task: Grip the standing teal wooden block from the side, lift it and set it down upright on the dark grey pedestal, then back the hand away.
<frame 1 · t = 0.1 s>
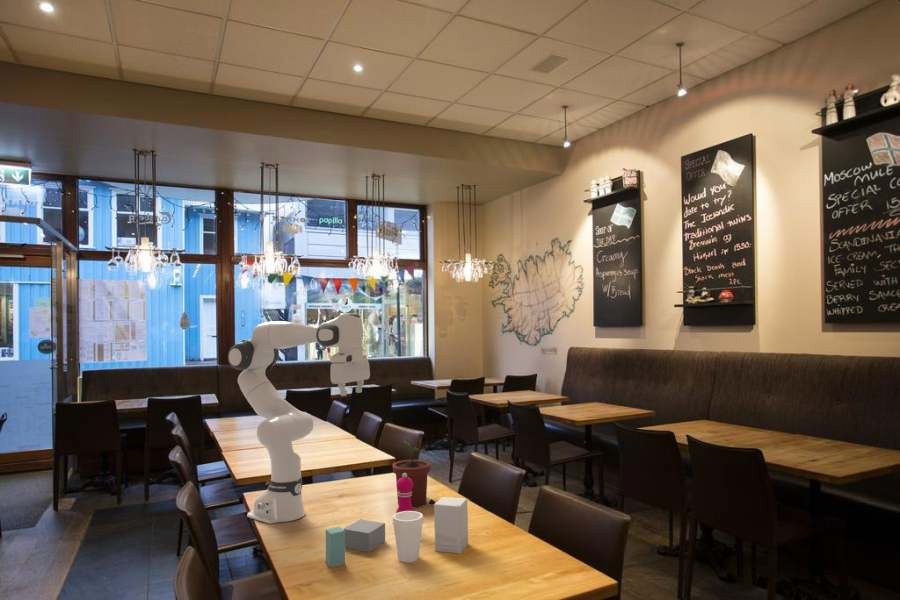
hand: (351, 394, 205), 48 cm above the table, tool pointing down, fingers open, 8 cm apart
foam cup: (408, 558, 175), on the table
potted plant: (415, 502, 232), on the table
block: (335, 563, 172), on the table
pedestal: (364, 544, 187), on the table
supplement box: (451, 548, 183), on the table
pepper mill: (405, 530, 200), on the table
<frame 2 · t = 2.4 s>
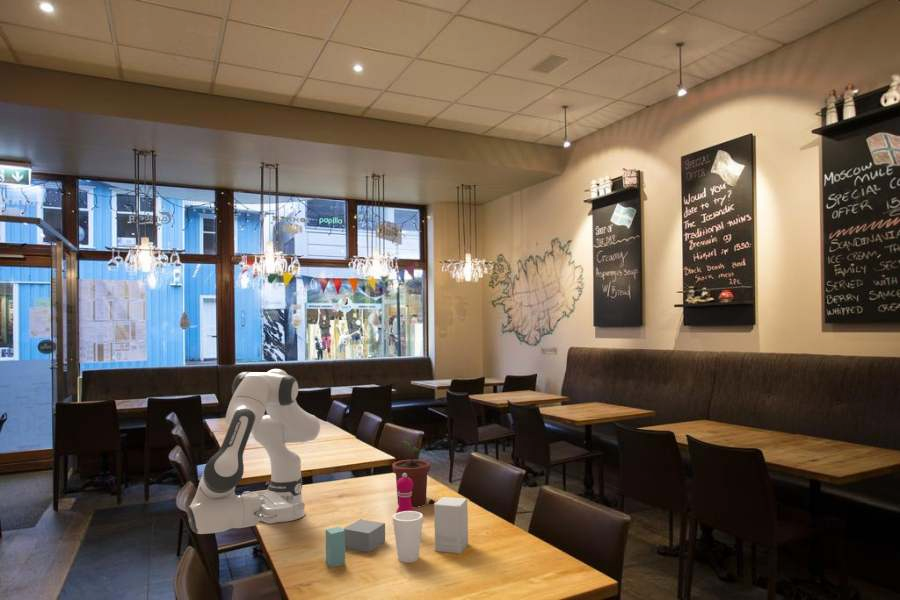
hand: (298, 501, 167), 21 cm above the table, tool horizontal, fingers open, 8 cm apart
nothing on the table moved.
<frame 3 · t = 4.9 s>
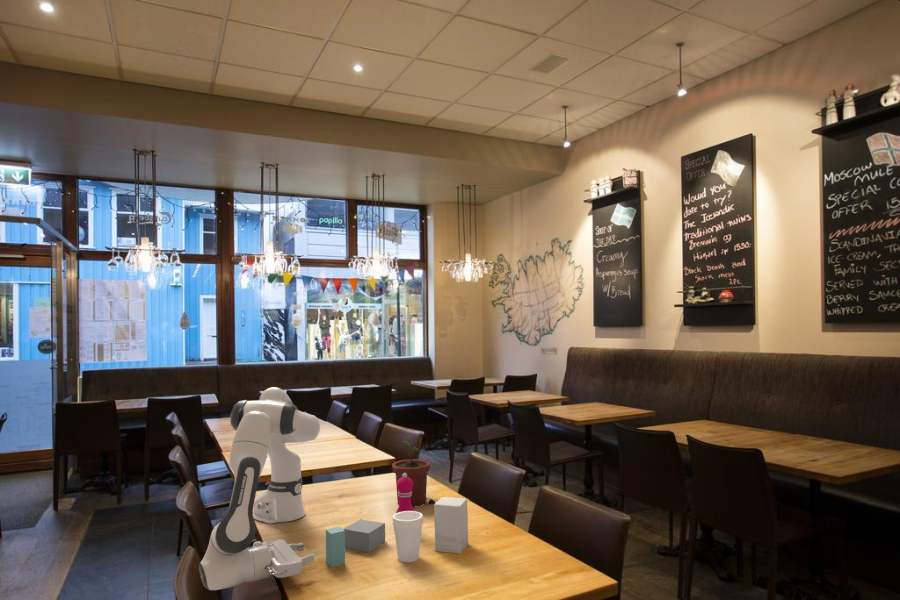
hand: (308, 551, 168), 5 cm above the table, tool horizontal, fingers open, 8 cm apart
nothing on the table moved.
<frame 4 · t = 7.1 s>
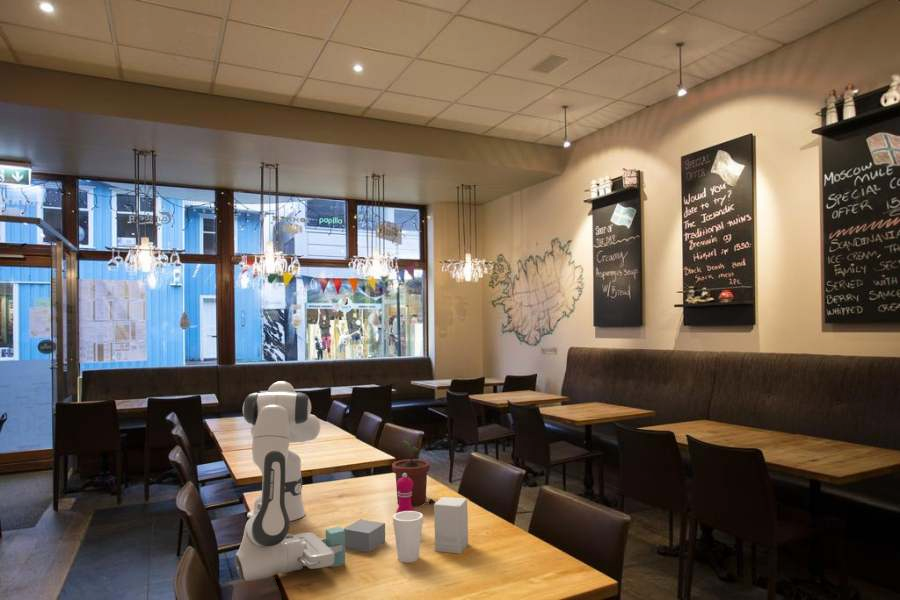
hand: (338, 544, 173), 6 cm above the table, tool horizontal, fingers closed on block, 4 cm apart
block: (335, 563, 172), on the table, touching gripper
everything else where it was.
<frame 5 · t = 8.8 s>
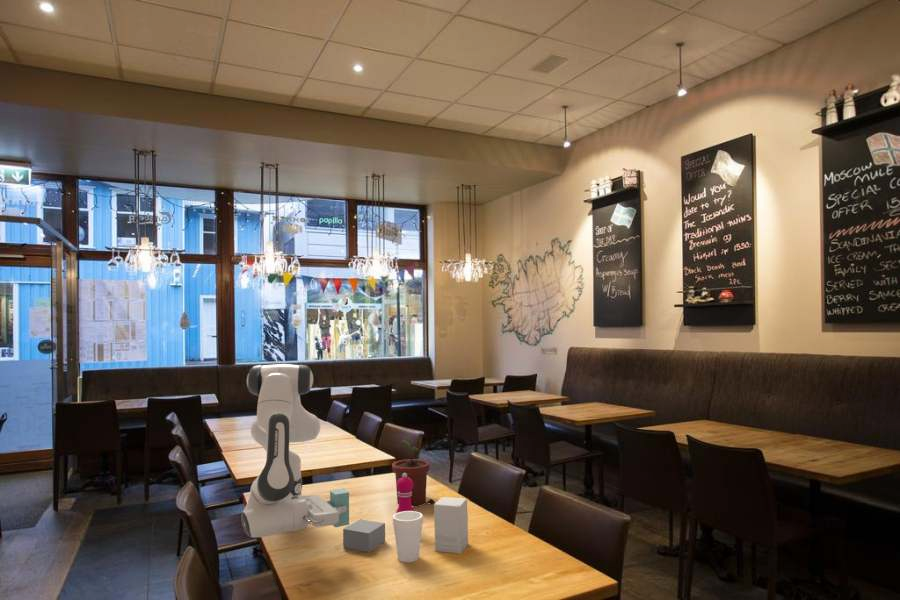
hand: (342, 505, 176), 16 cm above the table, tool horizontal, fingers closed on block, 4 cm apart
block: (339, 523, 175), point 11 cm above the table, touching gripper
when the fingers open (13 cm above the table, at t = 10.7 s): block drops 1 cm, resting on pedestal.
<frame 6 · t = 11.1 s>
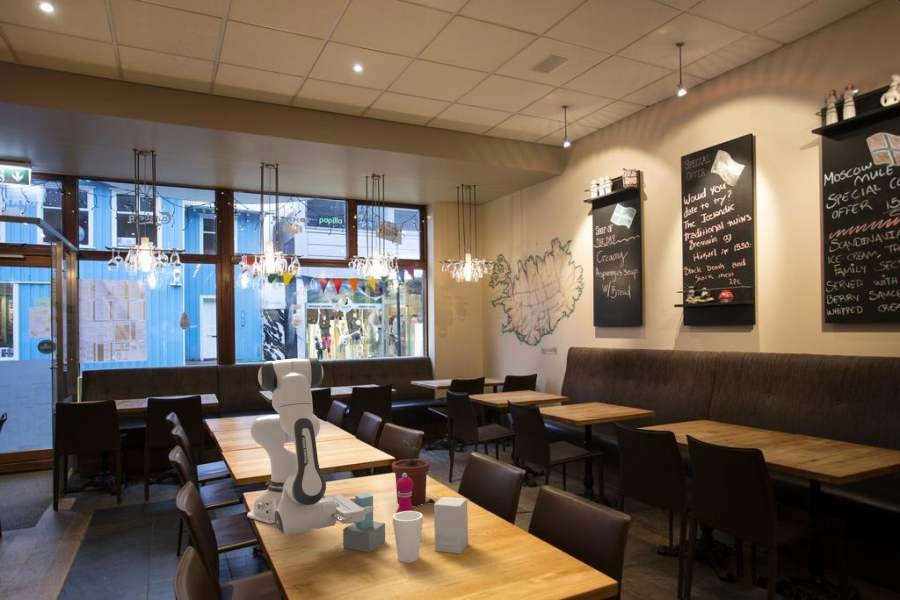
hand: (366, 504, 188), 13 cm above the table, tool horizontal, fingers open, 8 cm apart
block: (364, 526, 187), point 6 cm above the table, touching pedestal
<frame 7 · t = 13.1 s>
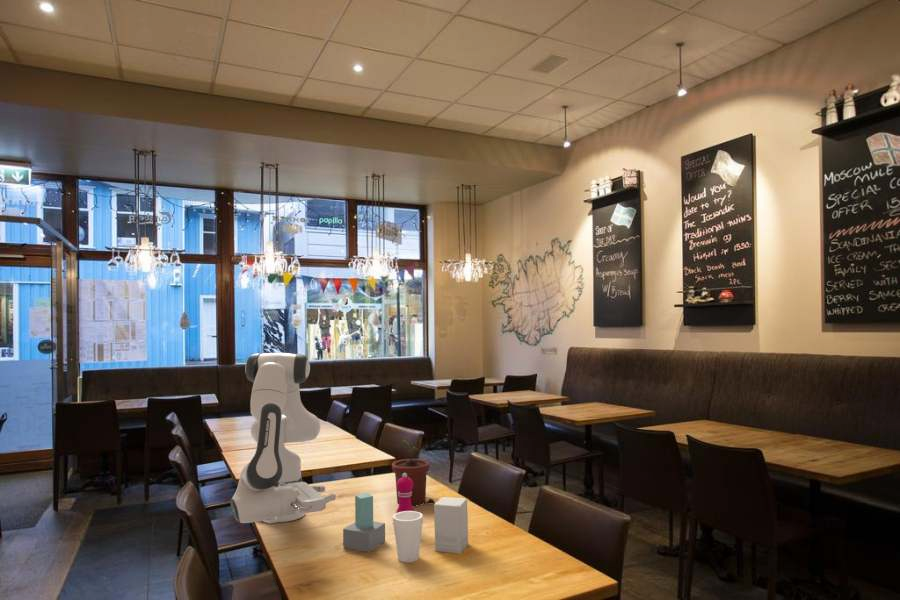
hand: (329, 492, 182), 19 cm above the table, tool horizontal, fingers open, 8 cm apart
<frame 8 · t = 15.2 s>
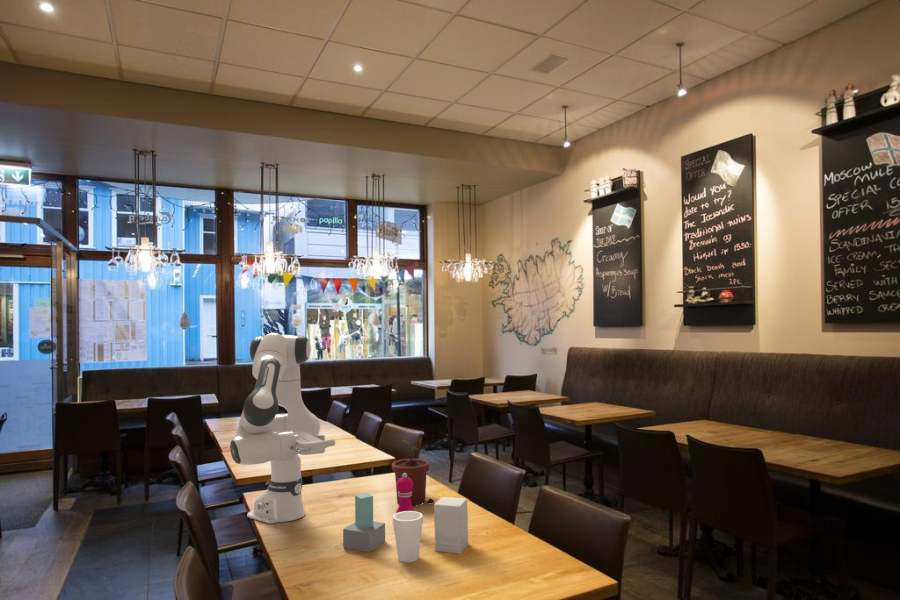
hand: (329, 440, 182), 36 cm above the table, tool horizontal, fingers open, 8 cm apart
at the end: block inside the target area on the pedestal (0.0 cm from its centre), point 6.0 cm above the pedestal's base; block tilted 0°; the gripper is holding nothing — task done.
